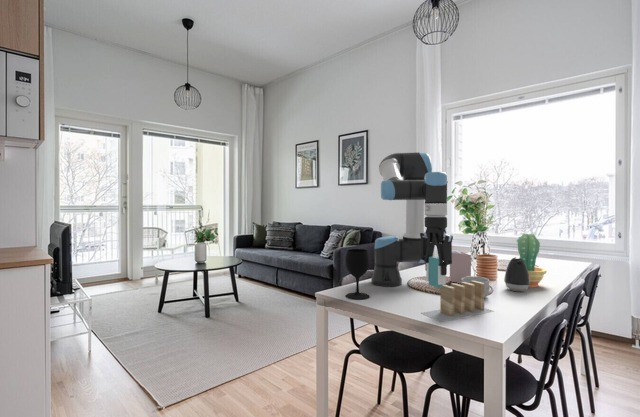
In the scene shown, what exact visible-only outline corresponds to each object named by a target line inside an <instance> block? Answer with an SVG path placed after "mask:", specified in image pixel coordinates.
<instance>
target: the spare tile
mask: <svg viewBox="0 0 640 417" xmlns="http://www.w3.org/2000/svg"><path fill="white" fill-rule="evenodd" d="M438 264H440V262H439V257H437V256H434V255H433V256H432V257H429V281H428V286H432V287H435V288H438V289H439V288H441V287H443V285H444V284H442V285H438Z"/></svg>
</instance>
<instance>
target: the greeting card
mask: <svg viewBox="0 0 640 417" xmlns="http://www.w3.org/2000/svg"><path fill="white" fill-rule="evenodd" d="M466 276H472V255H471V254H469V253H467V252H466V253H465V252H462V251H460V253H457V252H452V264H449V282H450V281H452V282H451V283H453V282H457V283H456V284H458V283H461V282H462V280H461V279H462V278H463V277H466Z"/></svg>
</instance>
